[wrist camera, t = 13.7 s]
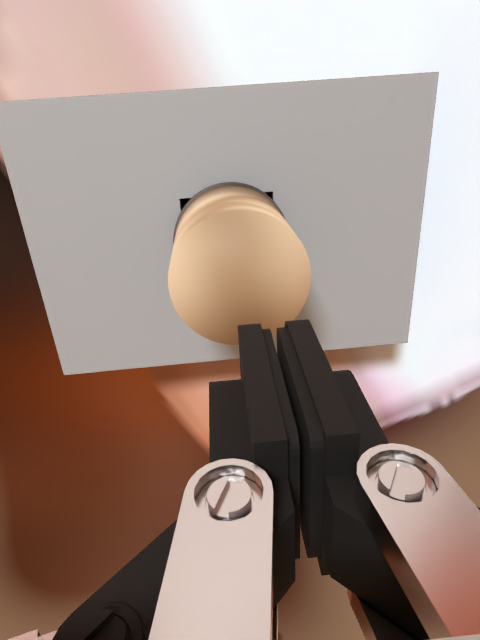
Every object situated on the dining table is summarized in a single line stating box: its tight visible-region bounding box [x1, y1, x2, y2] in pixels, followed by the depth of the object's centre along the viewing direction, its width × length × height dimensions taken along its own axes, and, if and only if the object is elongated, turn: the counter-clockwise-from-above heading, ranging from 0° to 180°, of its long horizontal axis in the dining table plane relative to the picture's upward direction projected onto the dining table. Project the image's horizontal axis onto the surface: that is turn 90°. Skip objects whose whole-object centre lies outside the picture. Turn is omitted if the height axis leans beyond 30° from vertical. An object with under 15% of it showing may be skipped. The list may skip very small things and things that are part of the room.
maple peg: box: [168, 182, 311, 345], centre depth 21 cm, size 6×6×9 cm
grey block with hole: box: [0, 72, 439, 375], centre depth 25 cm, size 20×14×4 cm
